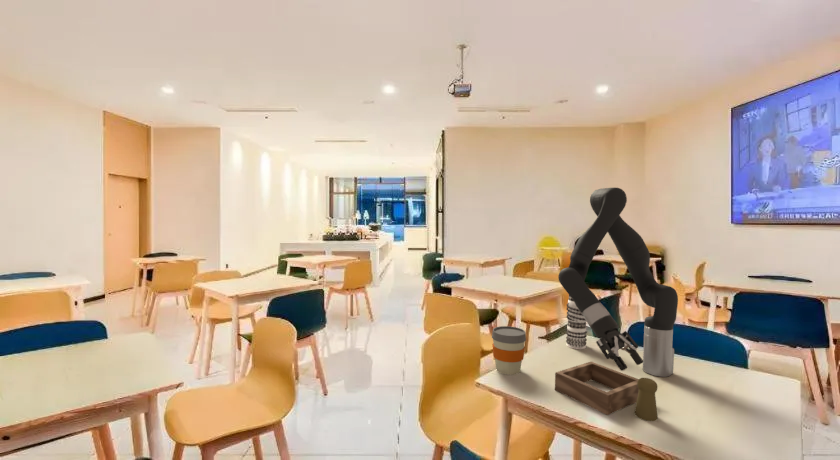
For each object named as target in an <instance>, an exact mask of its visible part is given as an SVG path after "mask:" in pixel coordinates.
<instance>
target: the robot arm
mask: <svg viewBox="0 0 840 460" xmlns="http://www.w3.org/2000/svg"><path fill="white" fill-rule="evenodd" d="M627 202H628V198H627V194H626V192H625V191H624V190H623V189H622V188H619V187H606V188H605V187H603V188H599V189H595V190H594V191H593V192H591V194H590V197H589V203H590V204H589V205H590V207H591V210H592V211H593V213H594V214H595V215H596V216H597V217H596V219H595V220H594V221H593V223H592V224H591V225H590V226H589V227H588V228H587V229H586V230H585V231H584V232H583V233H582V234H581V235H580V237H579V238H578V240H577V241H576V244H575V245H574V248H573V249H572V252H571V254H570V257H569V259H570V260H569V261H570V262H569V264H568V267H565V268H562V269H561V270H560V271H559V273H558V282H559V284H560V285H561V287H562V288H563V289H564V290H565V292H567V293H566V294H568V296H569V295H570V296H571V298H572V299H573V301H574V302H575V304H576V306H577V307H578V309H579V310H580V312H581V313H582V315H583V316H584V318H585V320H586V324H587V325H588V326H589V327H590V329H591V330H592V332H593V333H594V335H595V336H596V338H597V340H596V341H595V343H596V345H597V347H598V348H599V350H600V351H601V352H602V354H603V356H604V357H605V358H606V360H610V359H611V360H612V361H613V362H614V364H615V365H616V366H617V368H619V370H620V371H625V370H627V368H628V365H627V364H626V363H625V361H624V360H623V358H622V357H621V356H620V354H619V350H621V351H625V352H626V353H628V354H629V356H630V358H631V359H632V360H633V361H634V363H635V364H636V365H637V366H639V365H641V364H642V370H643V372H645V373H647V374H648V375H652V376H655V377H664V378H665V377H666V378H667V377H670V376H671V375H673V374H674V364H675V363H674V361H675V348H674V347H673V335H674V324H675V323H676V321H677V314H678V304H679V296H678V293H677V291H676V289H675V288H673V287H672V286H670V285H666V284H660V283H659V282H657V280H656V279H655V277H654V276H653V274H652V272H651V270H650V262H651V261H650V260H651V255H650V254H651V253H650V250H649V248H648V247H647V244H646V243H645V241H644V239H643V237H642V236H641V235H640V234H639V233H638V232H637V231H636V230H635V229H634V228H633V227H631V225H630V224H628V222H626V221H625V220H624V219H623V218H622V216H621V214H622V212H623V211H624V209H625V208H626V205H627ZM607 234H608V236H609V237H610V239H611V240H612V242H613V244H614V245H615V247H616V250H617V252H618V254H619V255H620V258H621V259H622V261H623V262H624V264H625V266H626V269H627V270H628V271H629V274H630V275H631V277H632V279H633V281H634V284H635V286H636V287H635V288H637V292H638V294H639V297H640V298H641V300H642V302H643V303H644V305H646V306H649V307H650V308H654V310H653V315H651V316H647V317H645V318H644V328H643V332H644V333H643V349H642V350H643V353H642V357H641V356H640V354H639V353H638V351H637V349H638V348H639V346H638V344H637V343H636V342H635V340H634V339H633V338H632V336H631V335H630V334H629V332H628V331H626V330H625V331H623V332H622V333H621V332H620V331H619V330H618V329H619V328H620V327H619V324H618V323H617V321H616V320H615V319H614V317H613V316H612V315H611V313H610V312H609V310H607V308H606V307H605V306H604V305H603V304H602V303H601V301H600V300H599V299H598V298H597V296H596V294H594V292H593V291H592V290H591V289H590V288H589V286H588V285H587V283H586V281H585V280H586V277H587V274H588V271H589V268H590V264H591V263H592V261H593V258H595V255H596V253H597V252H598V251H597V250H599V247H600V245H601V243H602V242H603V240H604V238H605V237H606V235H607Z"/></svg>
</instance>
